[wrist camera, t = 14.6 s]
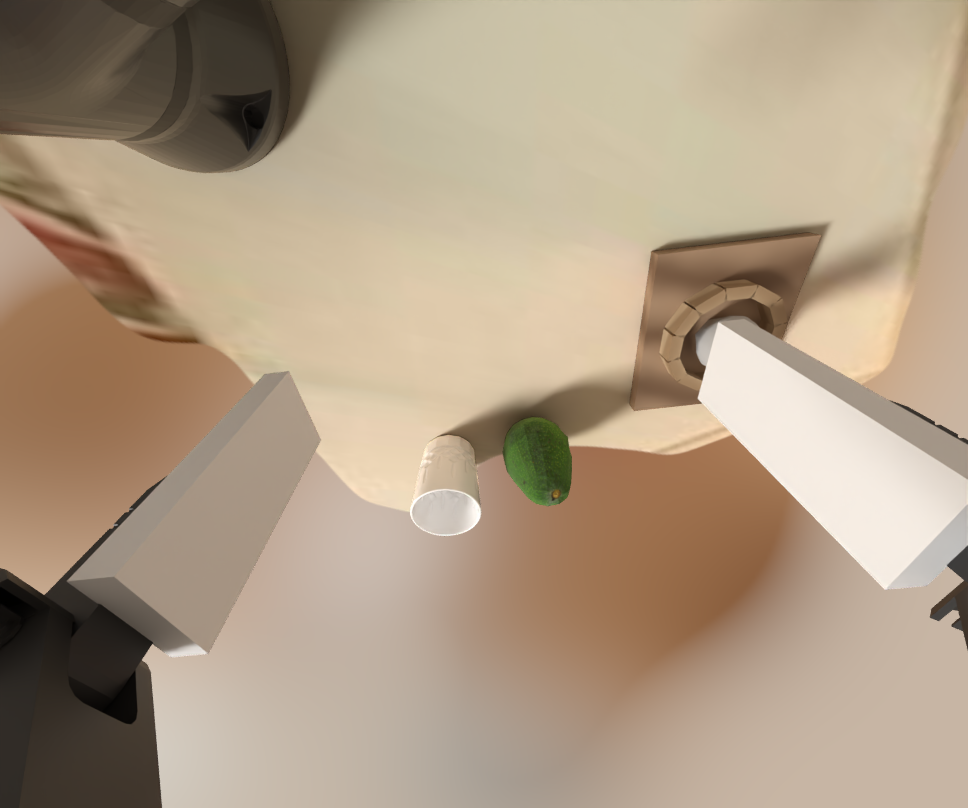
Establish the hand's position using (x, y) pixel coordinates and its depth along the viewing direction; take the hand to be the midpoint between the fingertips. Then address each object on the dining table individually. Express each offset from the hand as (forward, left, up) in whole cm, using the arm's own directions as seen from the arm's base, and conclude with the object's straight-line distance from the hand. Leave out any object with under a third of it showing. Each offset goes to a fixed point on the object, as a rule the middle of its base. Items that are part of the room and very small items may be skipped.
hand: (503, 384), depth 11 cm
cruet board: (+12, +24, -27) cm, 38 cm away
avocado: (+23, +4, -27) cm, 36 cm away
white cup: (+26, -7, -27) cm, 38 cm away
